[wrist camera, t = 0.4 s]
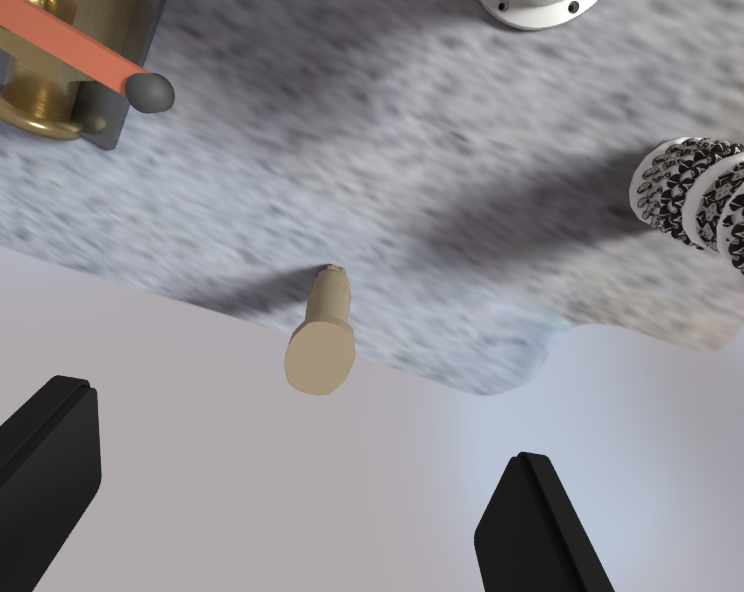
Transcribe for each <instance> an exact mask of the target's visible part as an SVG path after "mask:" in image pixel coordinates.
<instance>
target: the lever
mask: <svg viewBox="0 0 744 592" xmlns="http://www.w3.org/2000/svg"><path fill="white" fill-rule="evenodd" d="M0 25H2V26H3V27H5V28H7V29H9V30H10V31H12V32H14V33H16V34H17V35H19V36H21V37H23V38H24V39H26V40H28V41H30V42H31V43H33V44H35V45H36V46H38V47H40V48H42V49H43V50H45V51H47V52H49V53H50V54H52V55H54V56H56V57H57V58H59V59H61V60H63V61H64V62H66V63H68V64H70V65H71V66H73V67H75V68H76V69H78V70H80V71H82V72H83V73H85V74H87V75H89V76H90V77H92V78H94V79H96V80H97V81H99V82H101V83H103V84H104V85H106V86H108V87H110V88H111V89H113V90H115V91H117V92H118V93H120V94H122V95H123V96H125V97H127V99H128V101H129V103H130V104H131V105H132V106H133V107H134V108H135V109H136V110H138V111H140V112H142V113H147V114H148V113H156V112H163V111H166V110H168V109H170V108H171V107H172V105H173V103H174V99H175V93H174V89H173V87H172V85H171V83H170V82H169V81H168V80H167V79H166V78H165V77H163V76H161V75H159V74H155V73H149V72H147V71H146V70H144V69H142V68H141V67H139V66H137V65H136V64H134V63H132V62H131V61H129V60H127V59H126V58H124V57H122V56H121V55H119V54H117V53H115V52H114V51H112V50H110V49H109V48H107V47H105V46H104V45H102V44H100V43H99V42H97V41H95V40H94V39H92V38H90V37H89V36H87V35H85V34H84V33H82V32H80V31H79V30H77V29H75V28H74V27H72V26H70V25H68V24H67V23H65V22H63V21H62V20H60V19H58V18H57V17H55V16H53V15H52V14H50V13H48V12H47V11H45V10H43V9H42V8H40V7H38V6H37V5H35V4H33V3H32V2H30V1H28V0H0Z"/></svg>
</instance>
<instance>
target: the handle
mask: <svg viewBox="0 0 744 592" xmlns="http://www.w3.org/2000/svg"><path fill="white" fill-rule="evenodd" d="M350 299H351V295H350V285H349V281H348V279H347V277H346V271H345V269H344V268H338V267H336V266H334V265H333V264H330V265H328V267H327V268H326V269H325V270H323V271H320V272H319V273H318V274H317V276H316V279H315V281H314V283H313V285H312V288H311V290H310V294H309V297H308V301H307V309H306V316H305V321H304V322H303V323H302V324H301V325H300V326H299V327H298V328H297V329H296V330H295V331H294V332H293V334H292V337H291V339H290V342H289V345H288V349H287V352H286V355H285V360H284V366H285V372H286V377H287V381H288V383H289V384H290V385H291V386H292V387H294V388H295V389H297V390H299V391H301V392H304V393H308V394H311V395H327V394H330V393H331V392H333V391H334V390H335V389H336V388H337V387H339V386H340V385H341V384H342V383H343V382H344V381H345V380H346V378H347V377H348V375H349V372H350V370H351V368H352V365H353V362H354V359H355V342H354V334H353V329H352V328H351V327H350V325H348V324H347V319H348V314H349V309H350Z"/></svg>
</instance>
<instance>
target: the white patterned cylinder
mask: <svg viewBox="0 0 744 592" xmlns="http://www.w3.org/2000/svg"><path fill="white" fill-rule="evenodd" d="M629 198H630V207H631V208H632V210H633V211H634V213H635V214H636V216H637V217H638V219H640V220H642V221H644V222H646V223H648V224H650V226H651V227H652V228H656V227H660V232H662V233H667V232H669V231H672V232H671V235H672V237H673V238H675V239H678V240H680V239H682V241H683V242H684V243H685V244H686V245H689V246H692V245H695V247H696V248H697V249H699V250H706V249H707V250H709V251H711V252H713V253H715V254H721V255H722V257H723V258H724V260H725V262H726V263H727V264H729V265H731V266H733V267H735V268H737V269H739V270H741V273H742V274H743V275H744V146H743V145H742V144H739V143H736V144H732V145H730V144H729V143H728V142H727V141H724V140H716V141H715V140H714V139H711V138H704V139H702V138H692V137H680V138H677V139H674V140H671V141H668V142H665V143H662V144H661V145H660V146H658V147H657V148H656V149H654V150H653V151H652V152H651V153H649V154H648V155H647V156H645V158H644V159H643V161H642V162H641V164H640V165H639V166H638V168H637V169H636V171H635V172H634V174H633V178H632V181H631V184H630V188H629Z"/></svg>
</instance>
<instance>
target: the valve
mask: <svg viewBox="0 0 744 592" xmlns="http://www.w3.org/2000/svg"><path fill="white" fill-rule="evenodd" d="M28 1H30V2H32V3H33V4H35V5H37V6H38V7H40V8H42V9H43V10H45V11H47V12H48V13H50V14H52V15H53V16H55V17H57V18H58V19H60V20H62V21H63V22H65V23H67V24H68V25H70V26H72V27H74V28H75V29H77V30H79V31H80V32H82V33H84V34H85V35H87V36H89V37H90V38H92V39H94V40H95V41H97V42H99V43H100V44H102V45H104V46H105V47H107V48H109V49H110V50H112V51H114V52H115V53H117V54H119V55H121V56H122V57H124V58H126V59H127V60H129V61H131V62H132V63H134V64H136V65H137V66H139V67H141V68H143V65H144V62H145V59H146V56H147V53H148V50H149V47H150V44H151V41H152V38H153V35H154V32H155V29H156V26H157V23H158V20H159V18H160V15H161V12H162V9H163V6H164V3H165V0H28ZM129 106H130V103H129V101H128V99H127V97H125V96H123V95H122V94H120V93H118V92H117V91H115V90H113V89H111V88H110V87H108V86H106V85H104V84H103V83H101V82H99V81H97V80H96V79H94V78H92V77H90V76H89V75H87V74H85V73H83V72H82V71H80V70H78V69H76V68H75V67H73V66H71V65H70V64H68V63H66V62H64V61H63V60H61V59H59V58H57V57H56V56H54V55H52V54H50V53H49V52H47V51H45V50H43V49H42V48H40V47H38V46H36V45H35V44H33V43H31V42H30V41H28V40H26V39H24V38H23V37H21V36H19V35H17V34H16V33H14V32H12V31H10V30H9V29H7V28H5V27H3V26H2V25H0V119H1V120H2V121H4V122H6V123H8V124H10V125H12V126H15V127H17V128H19V129H22V130H24V131H27V132H30V133H33V134H36V135H39V136H43V137H46V138H51V139H56V140H64V141H72V140H77V139H78V138H79V137H80V135H82V136H84V137H85V138H87V139H89V140H91V141H93V142H95V143H97V144H98V145H100V146H102V147H104V148H106V149H108V150H113V149H115V148H116V145H117V142H118V139H119V136H120V133H121V130H122V127H123V124H124V121H125V118H126V115H127V112H128V109H129Z"/></svg>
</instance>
